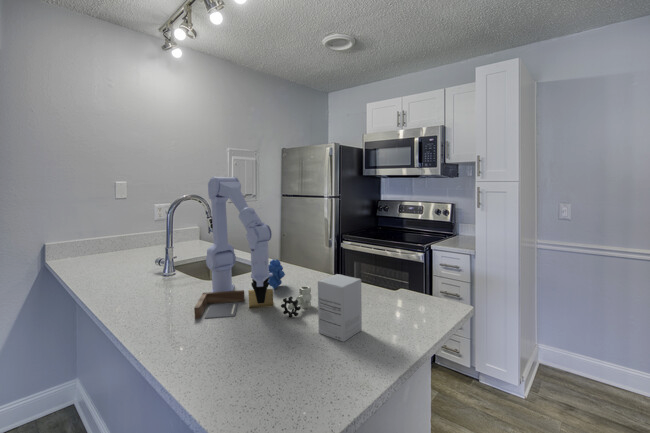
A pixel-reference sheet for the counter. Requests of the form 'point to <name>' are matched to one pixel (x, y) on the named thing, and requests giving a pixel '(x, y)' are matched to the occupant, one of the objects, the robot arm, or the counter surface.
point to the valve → (298, 301)
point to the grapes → (275, 273)
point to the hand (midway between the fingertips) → (261, 300)
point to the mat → (221, 310)
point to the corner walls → (217, 299)
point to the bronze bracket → (267, 303)
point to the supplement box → (339, 306)
